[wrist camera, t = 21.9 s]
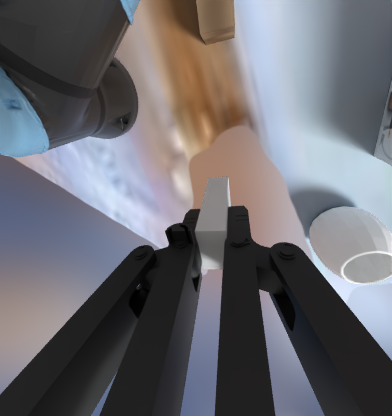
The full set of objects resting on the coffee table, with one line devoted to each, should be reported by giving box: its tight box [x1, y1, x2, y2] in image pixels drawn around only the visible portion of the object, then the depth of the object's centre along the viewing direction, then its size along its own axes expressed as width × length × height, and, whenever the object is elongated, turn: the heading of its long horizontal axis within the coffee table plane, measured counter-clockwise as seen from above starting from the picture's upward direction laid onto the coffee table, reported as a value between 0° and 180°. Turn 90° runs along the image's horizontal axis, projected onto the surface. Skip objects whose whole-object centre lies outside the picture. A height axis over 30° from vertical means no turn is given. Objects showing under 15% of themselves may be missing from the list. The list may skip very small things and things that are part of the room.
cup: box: [309, 206, 392, 284], centre depth 38 cm, size 13×13×14 cm
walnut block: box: [196, 0, 235, 45], centre depth 26 cm, size 4×4×7 cm
